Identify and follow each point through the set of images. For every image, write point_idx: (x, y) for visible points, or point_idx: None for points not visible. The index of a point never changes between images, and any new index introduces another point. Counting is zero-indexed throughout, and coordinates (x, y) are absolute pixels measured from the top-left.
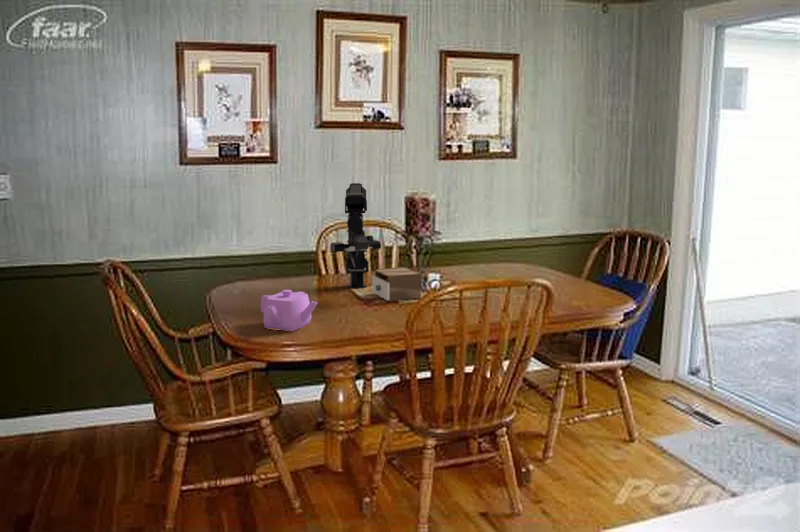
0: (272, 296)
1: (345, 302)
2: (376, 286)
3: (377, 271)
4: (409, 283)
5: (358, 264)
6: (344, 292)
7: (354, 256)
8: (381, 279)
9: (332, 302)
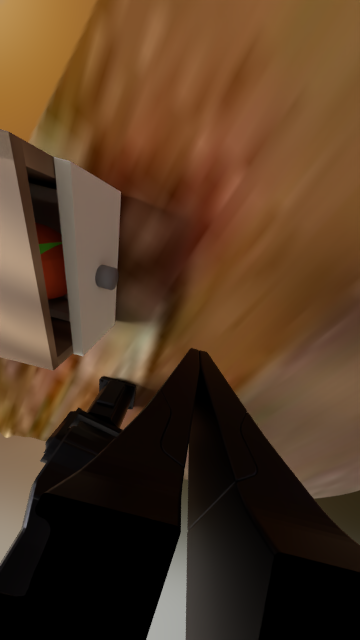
0: None
1: (237, 292)
2: (110, 283)
3: (52, 344)
4: None
5: (183, 360)
6: (170, 373)
7: (261, 472)
8: (72, 273)
9: (266, 316)
